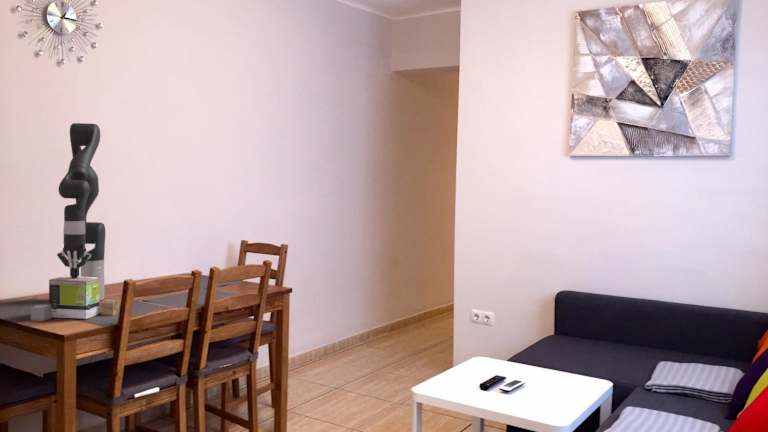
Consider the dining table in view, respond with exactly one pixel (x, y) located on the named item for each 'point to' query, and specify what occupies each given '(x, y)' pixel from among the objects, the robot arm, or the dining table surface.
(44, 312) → the slate block
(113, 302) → the brown box
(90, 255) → the robot arm
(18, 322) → the dining table surface
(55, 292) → the tea box
